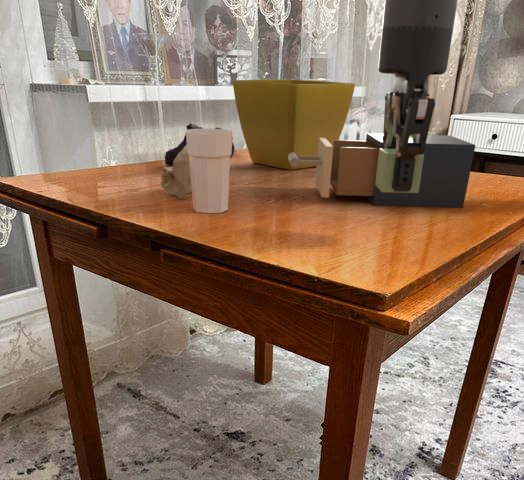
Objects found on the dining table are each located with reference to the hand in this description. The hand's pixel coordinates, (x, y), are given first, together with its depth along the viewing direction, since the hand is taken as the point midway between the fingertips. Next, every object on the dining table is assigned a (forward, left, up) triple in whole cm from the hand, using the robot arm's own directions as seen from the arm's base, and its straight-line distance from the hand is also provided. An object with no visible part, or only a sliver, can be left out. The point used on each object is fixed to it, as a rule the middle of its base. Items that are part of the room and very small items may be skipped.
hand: (396, 186), depth 66 cm
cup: (+24, -14, -7) cm, 29 cm away
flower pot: (+10, -59, -7) cm, 60 cm away
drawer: (+3, -26, -6) cm, 27 cm away
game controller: (+29, -50, -7) cm, 58 cm away
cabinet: (-9, -26, -7) cm, 28 cm away
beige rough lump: (+30, -24, -7) cm, 39 cm away
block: (0, 0, 0) cm, 0 cm away
